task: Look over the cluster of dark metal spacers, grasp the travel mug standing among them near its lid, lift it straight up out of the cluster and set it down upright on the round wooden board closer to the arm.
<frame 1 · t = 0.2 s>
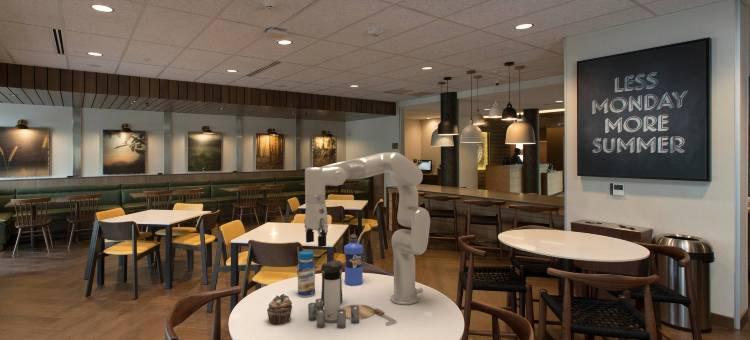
hand: (315, 244, 152), 31 cm above the table, tool pointing down, fingers open, 9 cm apart
coffee jar: (332, 303, 175), on the table
cupcake: (279, 321, 156), on the table
beverage bottle: (306, 294, 186), on the table
hook tool: (385, 318, 158), on the table
travel mug: (332, 320, 157), on the table
round wooden board: (356, 312, 165), on the table
water bottle: (353, 283, 203), on the table
spacer field: (332, 320, 157), on the table
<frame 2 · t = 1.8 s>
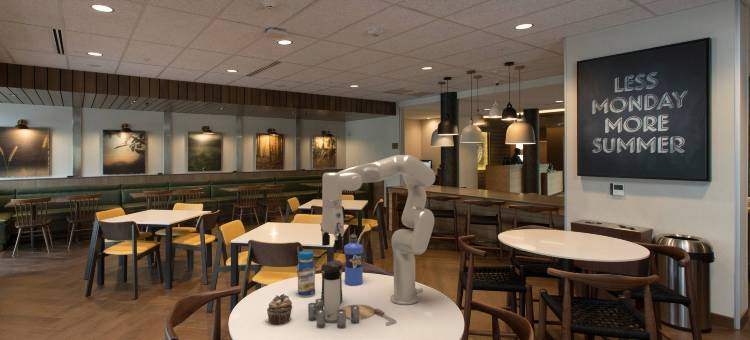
hand: (332, 247, 156), 29 cm above the table, tool pointing down, fingers open, 9 cm apart
nothing on the table moved.
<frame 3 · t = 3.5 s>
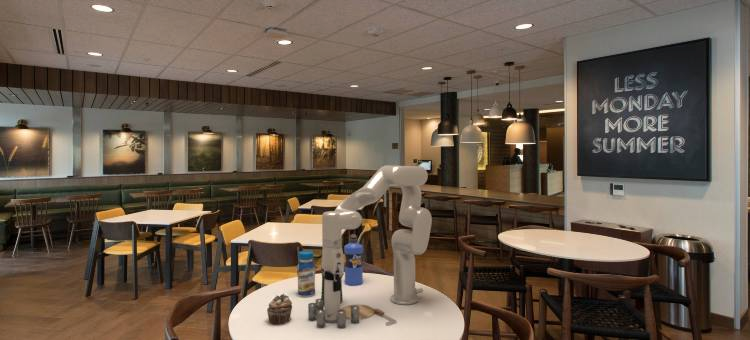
hand: (332, 288, 156), 13 cm above the table, tool pointing down, fingers closed on travel mug, 6 cm apart
travel mug: (332, 320, 157), on the table, touching gripper
everything else where it was.
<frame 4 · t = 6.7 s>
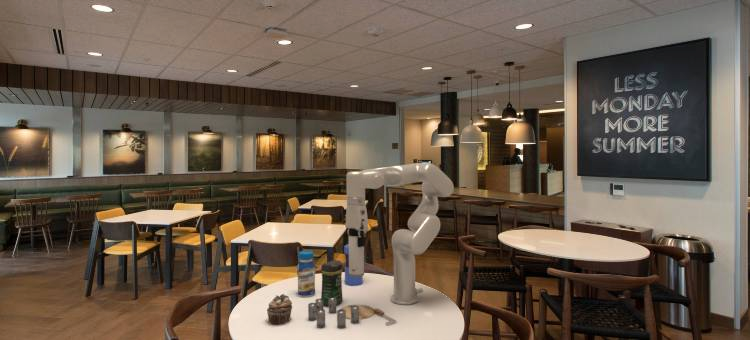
hand: (356, 244, 164), 28 cm above the table, tool pointing down, fingers closed on travel mug, 6 cm apart
travel mug: (356, 275, 164), point 15 cm above the table, touching gripper
everything else where it was.
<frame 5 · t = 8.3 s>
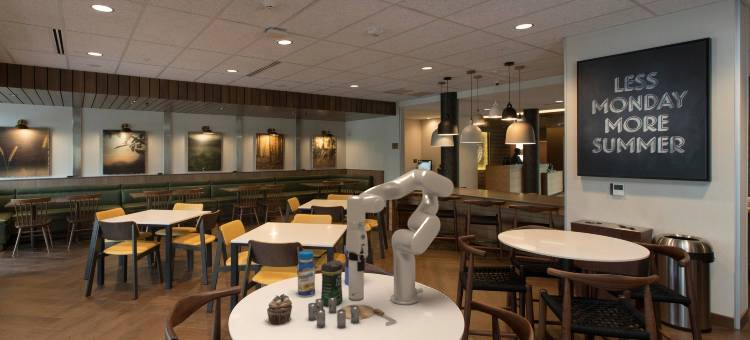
hand: (356, 268, 164), 18 cm above the table, tool pointing down, fingers closed on travel mug, 6 cm apart
travel mug: (356, 299, 164), point 5 cm above the table, touching gripper
everything else where it was.
when the fingers open (15 cm above the table, at t = 9.6 s): travel mug drops 2 cm, resting on round wooden board.
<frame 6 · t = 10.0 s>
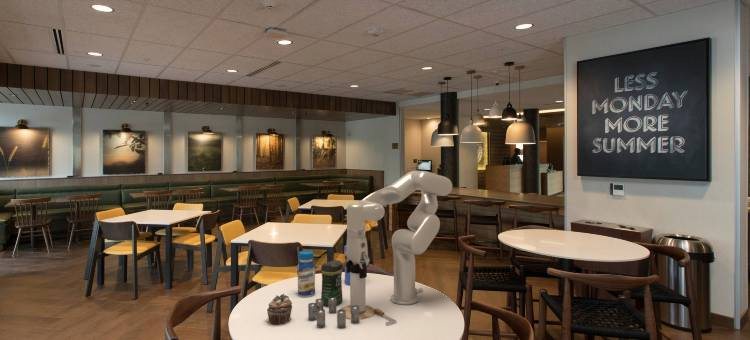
hand: (356, 275, 164), 15 cm above the table, tool pointing down, fingers open, 9 cm apart
travel mug: (358, 312, 164), resting on round wooden board
everything else where it was.
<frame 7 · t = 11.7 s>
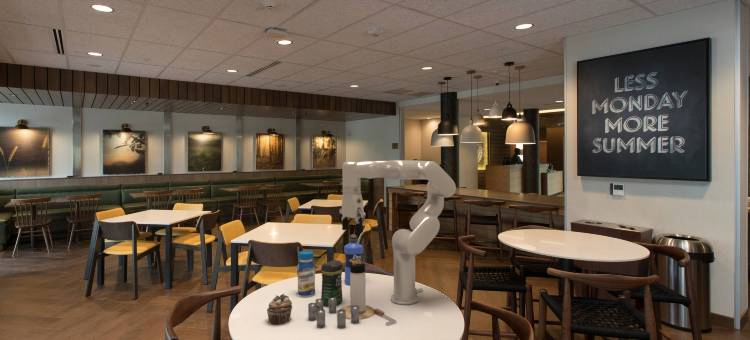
hand: (352, 231, 169), 33 cm above the table, tool pointing down, fingers open, 9 cm apart
nothing on the table moved.
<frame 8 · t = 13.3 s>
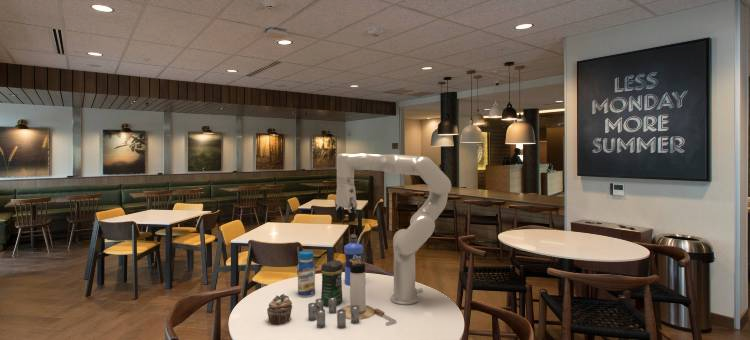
hand: (345, 220, 176), 36 cm above the table, tool pointing down, fingers open, 9 cm apart
nothing on the table moved.
at the end: travel mug 0.8 cm from the round wooden board (horizontally); travel mug tilted 0°; the gripper is holding nothing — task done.
